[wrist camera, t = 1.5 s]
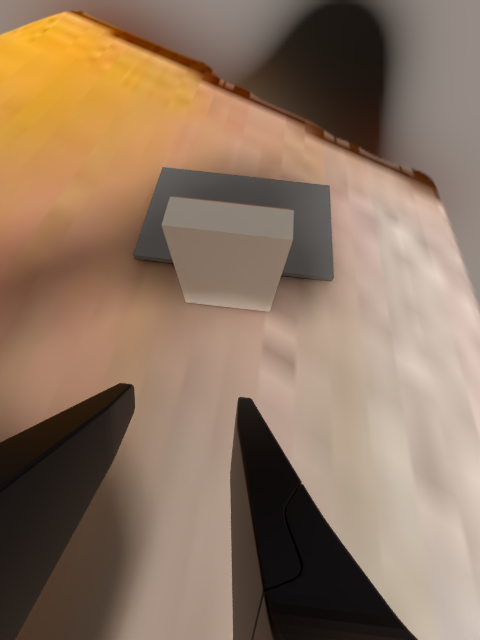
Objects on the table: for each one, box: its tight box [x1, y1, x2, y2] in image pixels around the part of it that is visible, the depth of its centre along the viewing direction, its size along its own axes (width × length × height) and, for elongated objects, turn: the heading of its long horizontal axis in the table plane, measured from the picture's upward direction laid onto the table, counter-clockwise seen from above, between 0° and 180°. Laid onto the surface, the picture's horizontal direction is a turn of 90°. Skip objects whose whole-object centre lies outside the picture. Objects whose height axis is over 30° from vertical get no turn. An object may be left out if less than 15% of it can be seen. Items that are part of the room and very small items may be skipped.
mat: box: [133, 167, 334, 281], centre depth 29 cm, size 13×20×1 cm, turn 84°
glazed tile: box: [162, 196, 294, 312], centre depth 21 cm, size 3×8×10 cm, turn 84°
